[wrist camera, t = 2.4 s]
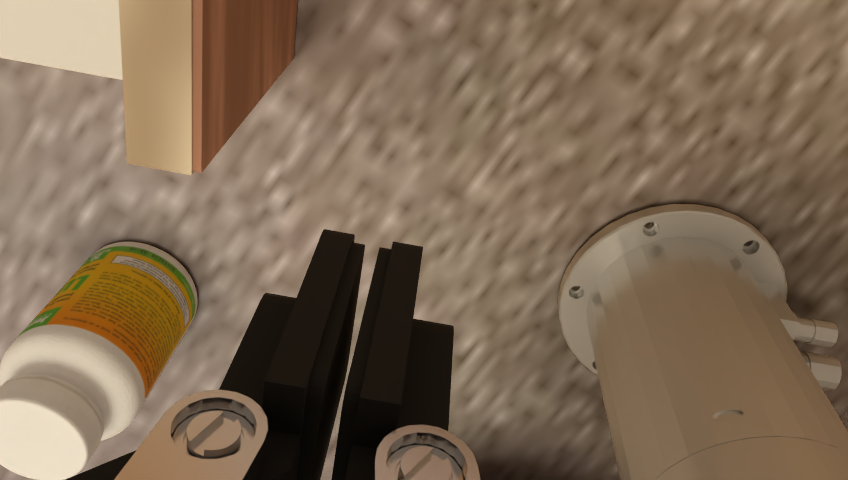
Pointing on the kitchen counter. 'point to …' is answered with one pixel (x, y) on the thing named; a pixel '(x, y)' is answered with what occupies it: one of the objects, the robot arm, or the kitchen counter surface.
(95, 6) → the mat
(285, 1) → the slab
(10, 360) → the supplement bottle
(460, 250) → the kitchen counter surface
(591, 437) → the kitchen counter surface
